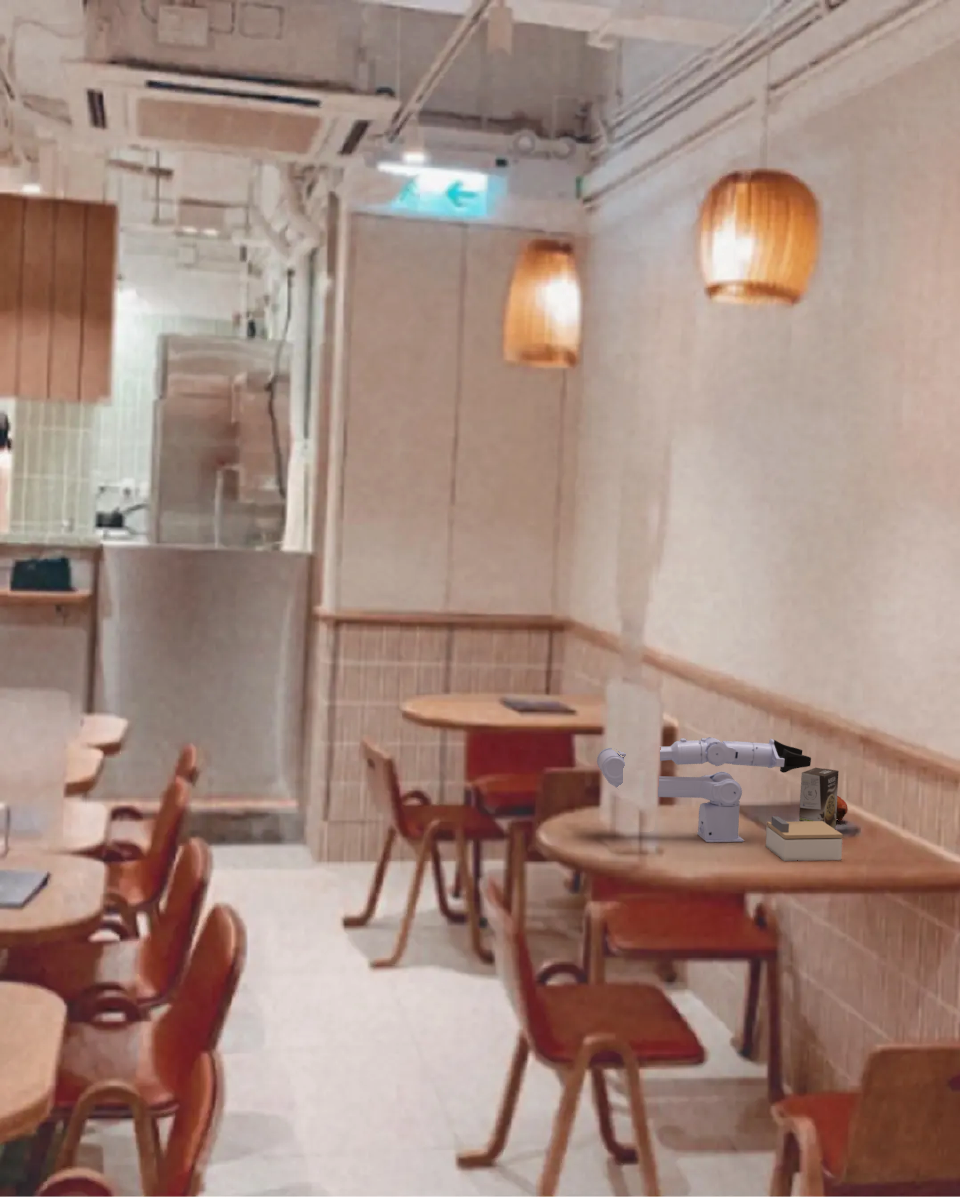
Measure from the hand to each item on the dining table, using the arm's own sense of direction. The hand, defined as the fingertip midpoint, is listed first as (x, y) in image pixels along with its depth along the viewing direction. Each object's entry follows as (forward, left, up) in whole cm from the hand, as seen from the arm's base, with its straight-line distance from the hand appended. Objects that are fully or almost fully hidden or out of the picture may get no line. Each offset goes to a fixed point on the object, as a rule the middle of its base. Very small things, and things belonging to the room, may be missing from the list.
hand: (806, 757), depth 335 cm
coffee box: (+6, +4, -21) cm, 22 cm away
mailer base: (-4, -12, -20) cm, 24 cm away
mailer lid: (-4, -12, -15) cm, 20 cm away
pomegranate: (+15, +16, -21) cm, 30 cm away
